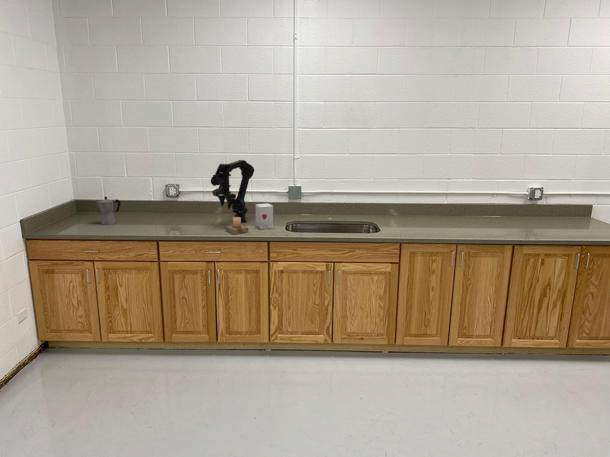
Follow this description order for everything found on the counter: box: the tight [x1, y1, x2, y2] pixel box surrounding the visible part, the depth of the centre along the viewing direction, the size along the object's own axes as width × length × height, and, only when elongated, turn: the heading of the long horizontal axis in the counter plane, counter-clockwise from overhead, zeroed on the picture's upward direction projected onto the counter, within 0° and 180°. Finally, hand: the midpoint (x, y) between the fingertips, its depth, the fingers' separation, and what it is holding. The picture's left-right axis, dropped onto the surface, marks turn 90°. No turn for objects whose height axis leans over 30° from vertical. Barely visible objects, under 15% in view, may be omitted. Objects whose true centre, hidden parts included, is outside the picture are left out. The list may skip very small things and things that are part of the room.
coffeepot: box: [95, 196, 122, 226], centre depth 305 cm, size 15×9×18 cm, turn 113°
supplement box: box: [255, 203, 274, 230], centre depth 299 cm, size 9×9×15 cm
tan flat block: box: [225, 224, 249, 235], centre depth 289 cm, size 10×10×3 cm
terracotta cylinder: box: [232, 216, 242, 228], centre depth 288 cm, size 5×5×6 cm
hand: (225, 207), depth 300 cm, fingers open, 9 cm apart
